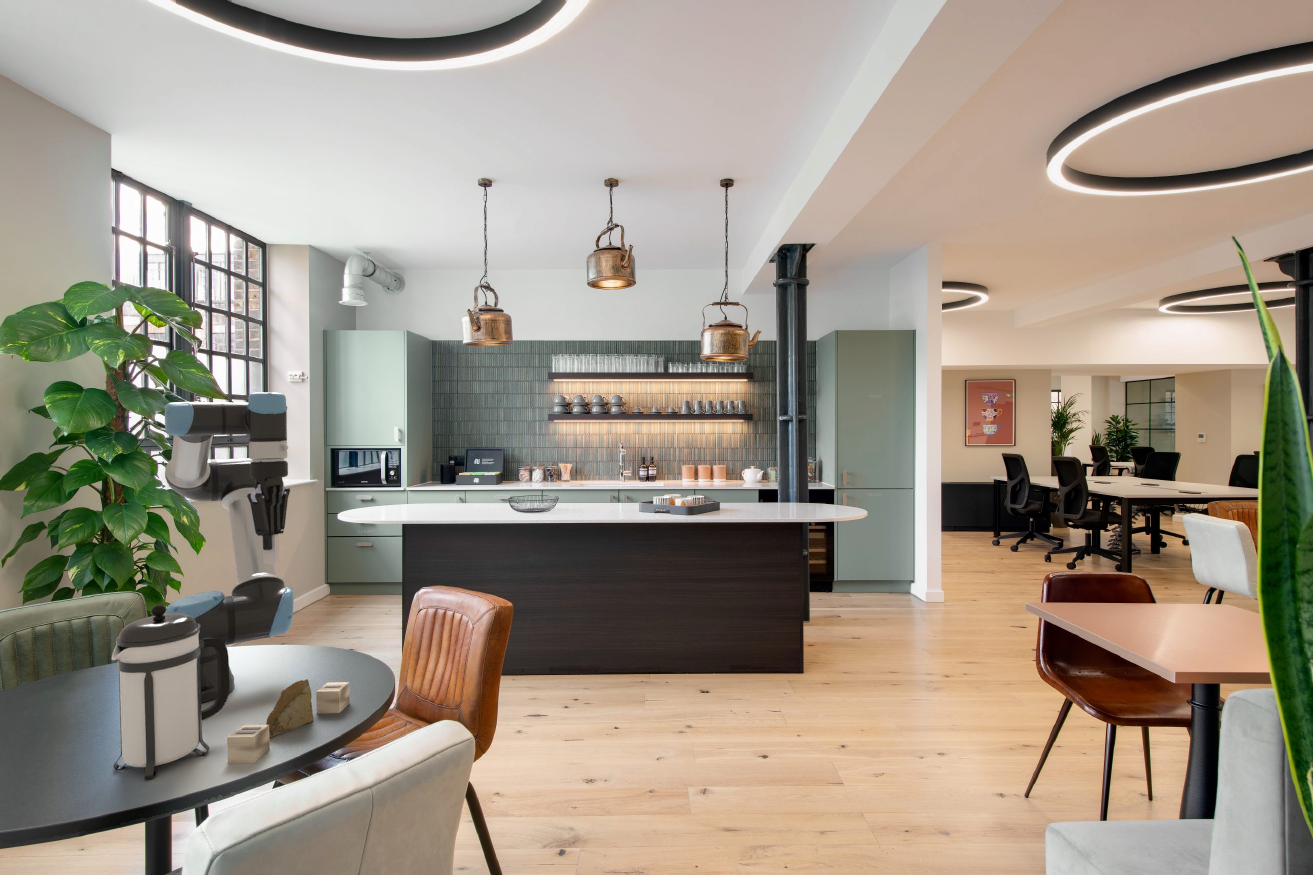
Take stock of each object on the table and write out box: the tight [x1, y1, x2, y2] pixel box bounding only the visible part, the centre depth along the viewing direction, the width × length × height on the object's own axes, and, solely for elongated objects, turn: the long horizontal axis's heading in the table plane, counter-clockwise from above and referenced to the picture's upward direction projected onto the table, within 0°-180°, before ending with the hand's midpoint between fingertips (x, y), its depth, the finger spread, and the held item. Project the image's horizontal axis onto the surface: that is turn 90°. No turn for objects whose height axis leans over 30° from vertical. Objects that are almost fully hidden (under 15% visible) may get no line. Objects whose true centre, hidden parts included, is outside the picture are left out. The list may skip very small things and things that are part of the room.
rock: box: [265, 679, 314, 739], centre depth 138 cm, size 11×9×10 cm
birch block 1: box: [226, 724, 271, 764], centre depth 126 cm, size 5×5×5 cm
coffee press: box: [111, 604, 230, 781], centre depth 126 cm, size 17×16×30 cm
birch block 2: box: [315, 681, 351, 714], centre depth 147 cm, size 5×5×5 cm
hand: (271, 563), depth 149 cm, fingers closed
